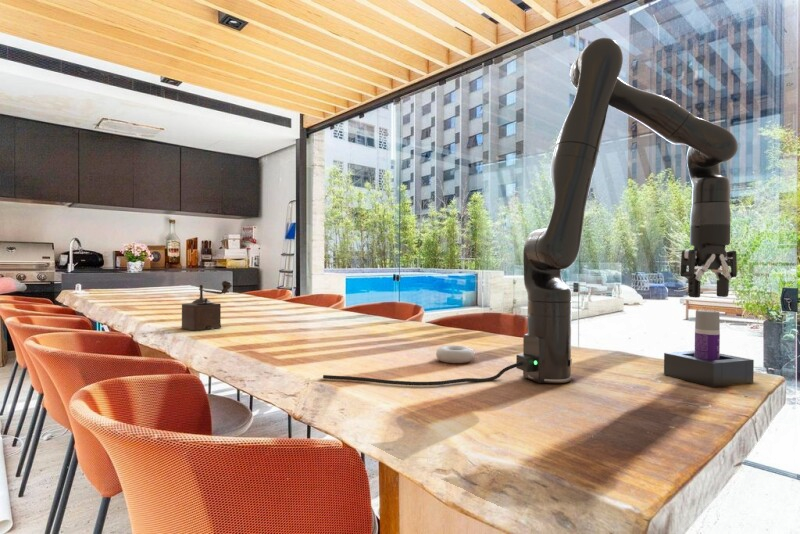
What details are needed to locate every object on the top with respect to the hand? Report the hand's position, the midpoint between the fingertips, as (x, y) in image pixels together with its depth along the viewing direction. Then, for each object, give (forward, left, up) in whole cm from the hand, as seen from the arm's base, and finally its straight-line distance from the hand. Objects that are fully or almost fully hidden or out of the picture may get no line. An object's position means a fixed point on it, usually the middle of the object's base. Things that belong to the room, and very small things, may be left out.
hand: (708, 297), depth 106 cm
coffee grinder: (-108, +119, -18) cm, 162 cm away
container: (0, 0, -18) cm, 18 cm away
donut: (-45, +35, -18) cm, 60 cm away
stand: (0, 0, -18) cm, 18 cm away
